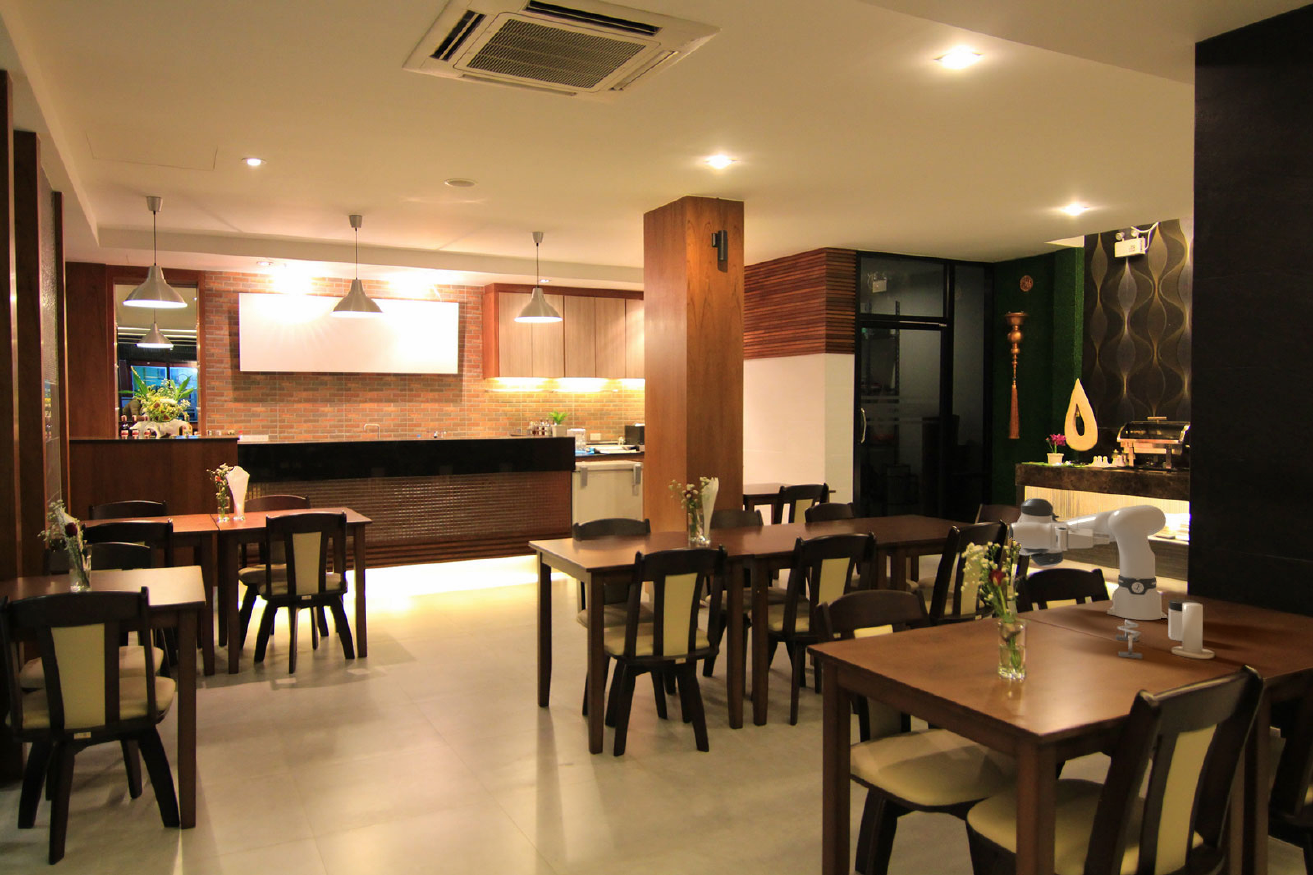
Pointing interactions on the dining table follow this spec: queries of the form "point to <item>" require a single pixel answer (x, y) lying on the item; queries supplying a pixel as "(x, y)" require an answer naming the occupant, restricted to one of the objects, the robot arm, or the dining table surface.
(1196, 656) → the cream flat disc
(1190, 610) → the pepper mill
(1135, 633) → the coil spring stand
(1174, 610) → the jar
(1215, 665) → the dining table surface
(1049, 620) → the dining table surface
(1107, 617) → the dining table surface
